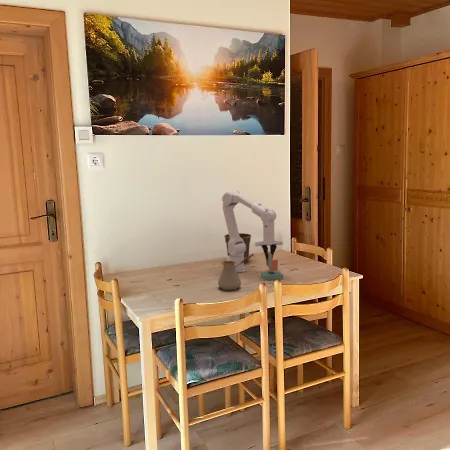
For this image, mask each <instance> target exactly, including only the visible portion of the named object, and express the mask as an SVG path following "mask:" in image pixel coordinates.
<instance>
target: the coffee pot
mask: <svg viewBox="0 0 450 450" xmlns="http://www.w3.org/2000/svg"><path fill="white" fill-rule="evenodd" d="M252 257H253V258H256V256H255V254H254V253H252V254H251V255H249V257H247V258H245V259H244V260H243V261H241V262H240V263H239V264H237V265H236V266H235V264H236V262H234V261H227V260H226V261H225V260H224V261H222V264H223V269H222V271H221V273H220V277H219V278H218V281H217V285H218V287H220V288H221V289H222V290H224V291H235V290H237V289H238V288H239V287H240V286H241V284H242V280H241V278H240V276H239V274H238V272H237V271H236V269H235V268H236V267H237V266H239V265H240V264H242V263H243V262H245V261H247V260H248V259H251V258H252ZM248 261H249V260H248ZM245 263H246V262H245Z"/></svg>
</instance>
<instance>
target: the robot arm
mask: <svg viewBox="0 0 450 450" xmlns="http://www.w3.org/2000/svg"><path fill="white" fill-rule="evenodd" d="M221 201H222V211H223V216H224V219H225V220H224V221H225V225H226V227H227V232H228V234H229V237H230V240H229V242H228V252H229V254H230V255H229V256H228V255H226V261H234V262H236V264H235V266H236V265H237V264H239V263H240V262H241V261H243V260H244V252H245V251H246V245H245V243H244V241H243V239H242V238H241V237H240V236H239V233H240V232H239V229H238V224H237V221H236V217H235V216H236V215H235V211H234V208H235V207H236V206H237V205H238V204H239V203H240V204H242V205H243V206H245V207H247V208H249V209H250V210H251V212H252V213H253V214H254V215H256V216H257V217H259V218H260V220H261V221H262V227H263V228H262V229H263V231H262V232H263V234H262V235H263V238H262V239H263V241H256V242H254V246H255V247H261V249H262V251H263V252H264V257H265V261H266V260H268V252H270V253H272V259H273V258H274V254H275V251H276V250H277V247H278V246H283V245H284V241H283V240H275V220H276V219H277V213H276V212H275V210H274V209H269V208H268V207H265V206H263V205H262V203H261V202H260V203H258V202H256V203H254V201H252V200H250V198H249V197H246V196H245V195H244V193H242V192H240V191H239V190H235V191H228V192H225V193H224V194H223V195H222V197H221ZM268 246H269V247H268ZM235 269H236V271H237V273H243V272H245V273H246V272H247V271H246V268H245V263H244V262H243V263H242V264H240V265H239V266H237V267H236V268H235Z"/></svg>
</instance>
